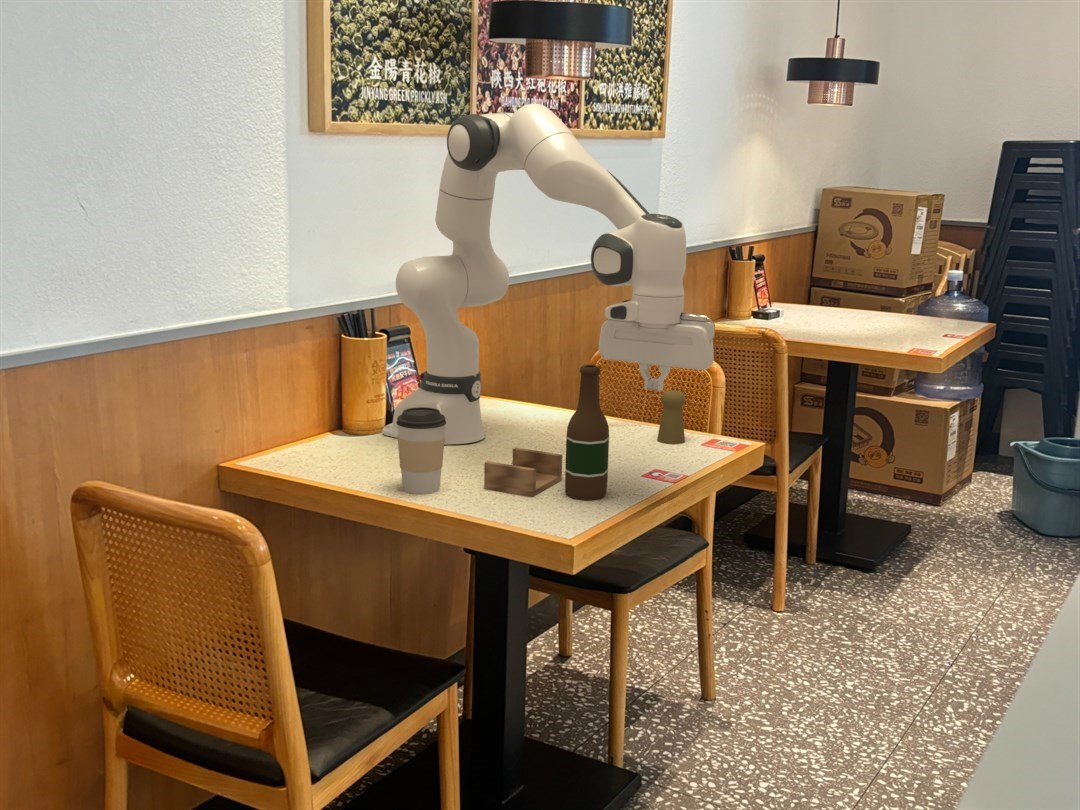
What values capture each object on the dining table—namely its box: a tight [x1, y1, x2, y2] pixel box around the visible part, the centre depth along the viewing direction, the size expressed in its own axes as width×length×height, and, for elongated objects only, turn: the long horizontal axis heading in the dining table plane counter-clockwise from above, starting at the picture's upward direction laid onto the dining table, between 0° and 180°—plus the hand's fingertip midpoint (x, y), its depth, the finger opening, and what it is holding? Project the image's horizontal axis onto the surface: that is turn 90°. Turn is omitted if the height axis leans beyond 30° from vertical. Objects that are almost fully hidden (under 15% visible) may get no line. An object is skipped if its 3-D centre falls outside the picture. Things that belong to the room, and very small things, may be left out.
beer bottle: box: [564, 364, 610, 502], centre depth 208 cm, size 8×8×24 cm
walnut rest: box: [483, 447, 563, 498], centre depth 215 cm, size 10×12×5 cm
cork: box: [656, 389, 686, 445], centre depth 248 cm, size 6×6×11 cm
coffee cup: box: [396, 407, 446, 495], centre depth 210 cm, size 9×9×15 cm
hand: (653, 389), depth 200 cm, fingers closed
